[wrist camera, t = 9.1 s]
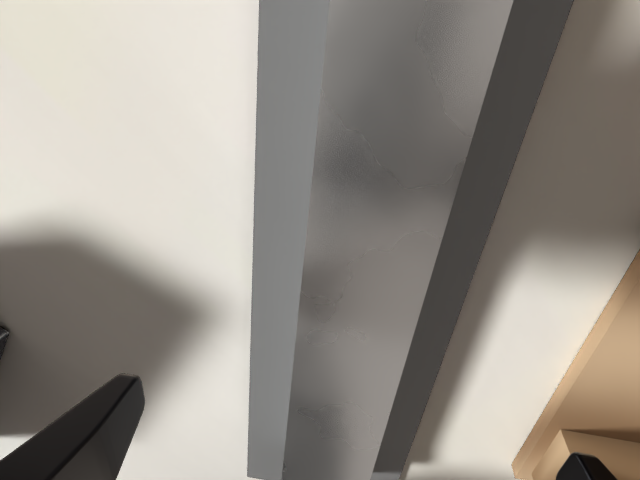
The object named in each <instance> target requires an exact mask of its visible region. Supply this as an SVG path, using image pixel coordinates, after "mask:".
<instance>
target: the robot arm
mask: <svg viewBox="0 0 640 480" xmlns="http://www.w3.org/2000/svg"><path fill="white" fill-rule="evenodd" d="M144 406H145V398H144V392H143V387H142V381H141V378H140V377H139V376H136V375H131V374H125V373H123V374H119V375H117V376H116V377H114V378H113V379H111V380H110V381H109V382H107V383H106V384H105V385H103V386H102V387H100V388H99V389H98V390H96V391H95V392H94V393H92V394H91V395H90V396H88V397H87V398H85V399H84V400H83V401H81V402H80V403H79V404H77V405H76V406H74V407H73V408H72V409H70V410H69V411H68V412H66V413H65V414H63V415H62V416H61V417H59V418H58V419H57V420H55V421H54V422H53V423H51V424H50V425H48V426H47V427H46V428H44V429H43V430H42V431H40V432H39V433H37V434H36V435H35V436H33V437H32V438H31V439H29V440H28V441H26V442H25V443H24V444H22V445H21V446H20V447H18V448H17V449H15V450H14V451H13V452H11V453H10V454H9V455H7V456H6V457H5V458H3V459H2V460H0V480H116V478H117V476H118V473H119V471H120V468H121V466H122V463H123V461H124V458H125V456H126V453H127V451H128V448H129V446H130V443H131V441H132V438H133V436H134V433H135V430H136V428H137V425H138V423H139V420H140V418H141V415H142V413H143V410H144ZM556 480H618V479H617V478H616V477H615V476H614V475H613V474H612V473H611V472H610V470H609V469H608V468H607V467H606V466H605V465H604V464H603V463H602V462H601V461H600V460H599V459H598V458H597V457H596V456H594V455H591V454H585V453H580V452H573V453H571V454H570V455H569V457H568V458H567V460H566V461H565V462H564V464H563V465H562V467H561V468H560V469H559V471H558V473H557V475H556Z"/></svg>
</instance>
